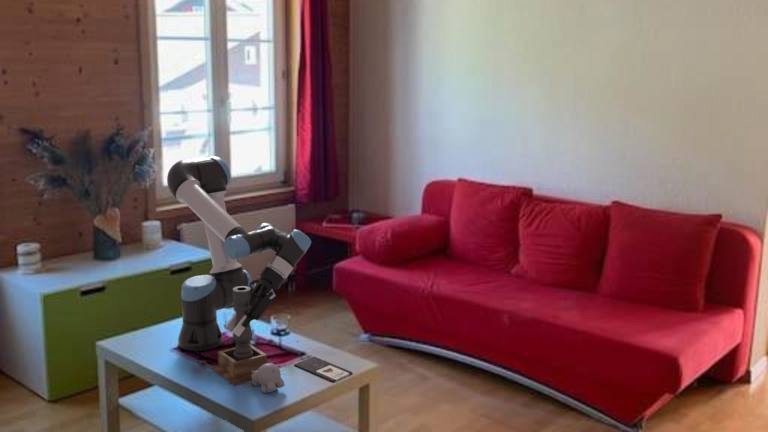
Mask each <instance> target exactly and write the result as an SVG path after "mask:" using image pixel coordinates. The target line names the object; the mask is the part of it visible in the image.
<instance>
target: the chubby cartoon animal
mask: <svg viewBox="0 0 768 432" xmlns="http://www.w3.org/2000/svg"><path fill="white" fill-rule="evenodd" d="M252 374H253V375H252V380H251V384H252V385H253V386H259V385H261V393H262V394H266V393H267V394H268V393H271V392H272V393H273V392H275V391H277V389H280V388H283V387H284V386H285V381H284V380H283V378H282V375H281V370H280V367H279V366H277V364H274V363H271V362H267V363H266V364H263V365H262V366H261V367H259V369H258V370H256V371H254V370H252Z"/></svg>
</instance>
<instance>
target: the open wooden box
mask: <svg viewBox="0 0 768 432" xmlns="http://www.w3.org/2000/svg"><path fill="white" fill-rule="evenodd" d="M250 346H251V347H252V352H253V357H251V358H248V359H244V360H240V361H235V360H234V356H233V354H234V352H235V351H234V348H235V347H231V348H228V349H224V350H220V351H217V363H218V364H215V365H212V370H213V372H215V373H216V374H217V375H219V376H220V377H222V378H223V379H224V380H226V381H227V382H229V384H231V385H232V386H237V385H242V384H244V383H247V382H252V375H253V374H252V370H254V371H256V370H258V369H259V367H261V366H262V365H263V364H266V363H268V354H267V353H265V352H263V351H262V350H260V349H258V347H256V346H254V345H252V344H251V343H250Z"/></svg>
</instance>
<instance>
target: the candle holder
mask: <svg viewBox="0 0 768 432" xmlns="http://www.w3.org/2000/svg"><path fill="white" fill-rule="evenodd" d="M250 299H251V288H250V287H248V286H237V287H234V288H233V300H234V302H235V304H236V306H235V305H233V310H234V311H235V312H236V324H235V327H236V326H237V325H238V323H239V322H240V321H241V319H242V318H243V317H244V315H245V314H246V313H248V312H249V310H250V309H251V307H252V306H249V305H248V304H249V302H250ZM246 316H247V315H246ZM232 333H233V332H232ZM253 335H254V334H253V331H252V327H251V322H250V323H249V325H248V326H247V327H246V328H245V329H244V331H243V332H242V333H241V335H240V336H239V337H238V336H237V335H236V334H234V333H233V334H232V339H233V340H234V341H235V347H233V348H234V351H235V352H234V354H233V356H234V360H235V361H240V360H244V359H248V358H251V357H253V352H252V347H251V346H250V344H251V340H252V338H253Z"/></svg>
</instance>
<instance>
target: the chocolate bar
mask: <svg viewBox="0 0 768 432" xmlns="http://www.w3.org/2000/svg"><path fill="white" fill-rule="evenodd" d="M293 366H294V367H296V368H298V369H301V370H303V371H304V372H308V373H310V374H312V375H314V376H317V377H319V378H322V379H324V380H326V381H328V382H331V383H335V382H337V381H340V380H341V379H344V378H346V377H348V376H351V375H353V372H352V371H351V370H348V369H346V368H344V367H341V366H340V365H339V366H338V365H336V364H333V363H331V362H329V361H326V360H324V359H321V358H319V357H316V356H312V357H308V358H306V359H304V360H301V361H299V362H297V363H294V364H293Z"/></svg>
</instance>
